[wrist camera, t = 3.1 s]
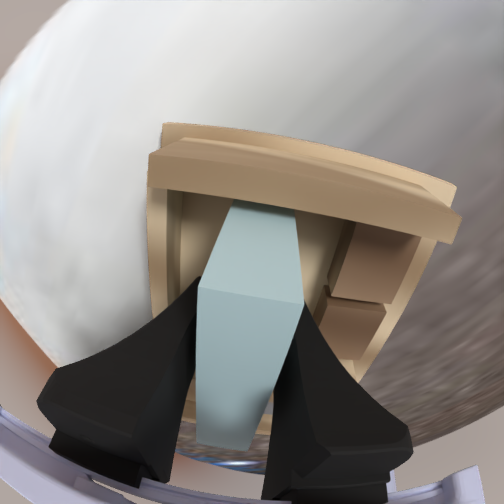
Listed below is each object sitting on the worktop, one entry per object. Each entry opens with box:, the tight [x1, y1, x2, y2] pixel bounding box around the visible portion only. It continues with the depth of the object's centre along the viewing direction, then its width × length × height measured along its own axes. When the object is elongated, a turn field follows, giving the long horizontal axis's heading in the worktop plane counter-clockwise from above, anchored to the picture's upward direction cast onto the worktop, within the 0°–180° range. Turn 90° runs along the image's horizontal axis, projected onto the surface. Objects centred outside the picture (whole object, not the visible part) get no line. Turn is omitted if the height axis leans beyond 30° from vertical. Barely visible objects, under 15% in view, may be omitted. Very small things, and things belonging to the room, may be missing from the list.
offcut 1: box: [327, 219, 422, 304], centre depth 12 cm, size 4×3×2 cm
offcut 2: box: [312, 285, 387, 360], centre depth 14 cm, size 4×3×2 cm
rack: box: [147, 122, 462, 435], centre depth 14 cm, size 20×13×4 cm, turn 172°
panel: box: [196, 199, 304, 451], centre depth 10 cm, size 8×2×7 cm, turn 172°
